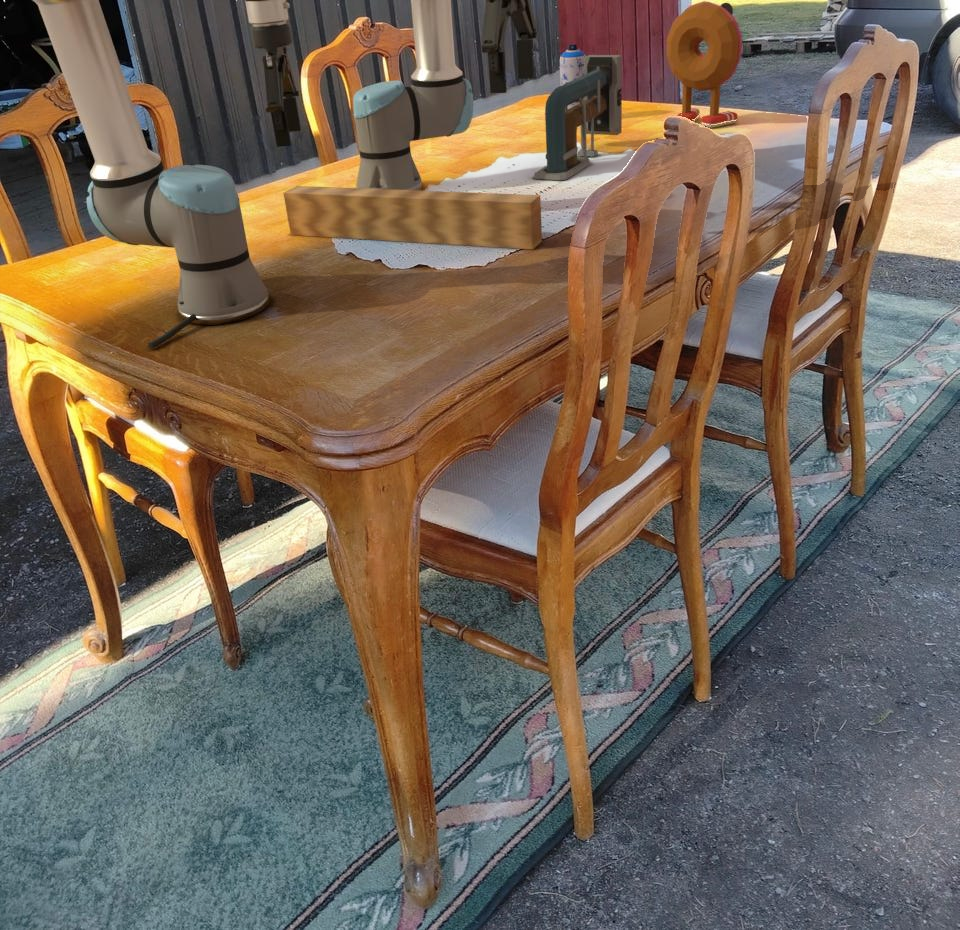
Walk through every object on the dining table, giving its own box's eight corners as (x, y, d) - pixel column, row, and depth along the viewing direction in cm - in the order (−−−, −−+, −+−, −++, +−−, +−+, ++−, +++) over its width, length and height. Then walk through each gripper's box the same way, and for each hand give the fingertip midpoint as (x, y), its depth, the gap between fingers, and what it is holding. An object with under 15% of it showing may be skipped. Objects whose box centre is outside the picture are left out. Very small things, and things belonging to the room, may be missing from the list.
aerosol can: (559, 122, 275) (557, 47, 265) (562, 117, 282) (559, 42, 272) (587, 121, 274) (585, 45, 263) (589, 115, 280) (587, 41, 270)
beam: (290, 234, 201) (283, 192, 196) (303, 227, 205) (296, 185, 201) (533, 249, 181) (530, 202, 177) (542, 240, 185) (540, 195, 181)
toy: (748, 122, 257) (756, -2, 242) (728, 130, 251) (735, 3, 236) (679, 116, 271) (683, -2, 255) (659, 123, 264) (661, 3, 249)
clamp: (565, 180, 221) (562, 81, 210) (530, 178, 225) (526, 81, 214) (621, 144, 247) (621, 55, 236) (589, 143, 251) (588, 55, 240)
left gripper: (278, 30, 173) (298, 151, 184) (298, 14, 195) (315, 123, 206) (237, 33, 174) (259, 154, 185) (261, 18, 195) (280, 126, 206)
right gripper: (498, -45, 150) (506, 99, 161) (551, -57, 169) (555, 72, 180) (454, -42, 153) (465, 99, 163) (511, -54, 172) (517, 73, 183)
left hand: (289, 138), depth 195 cm, fingers open, 13 cm apart
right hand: (512, 85), depth 172 cm, fingers open, 13 cm apart
